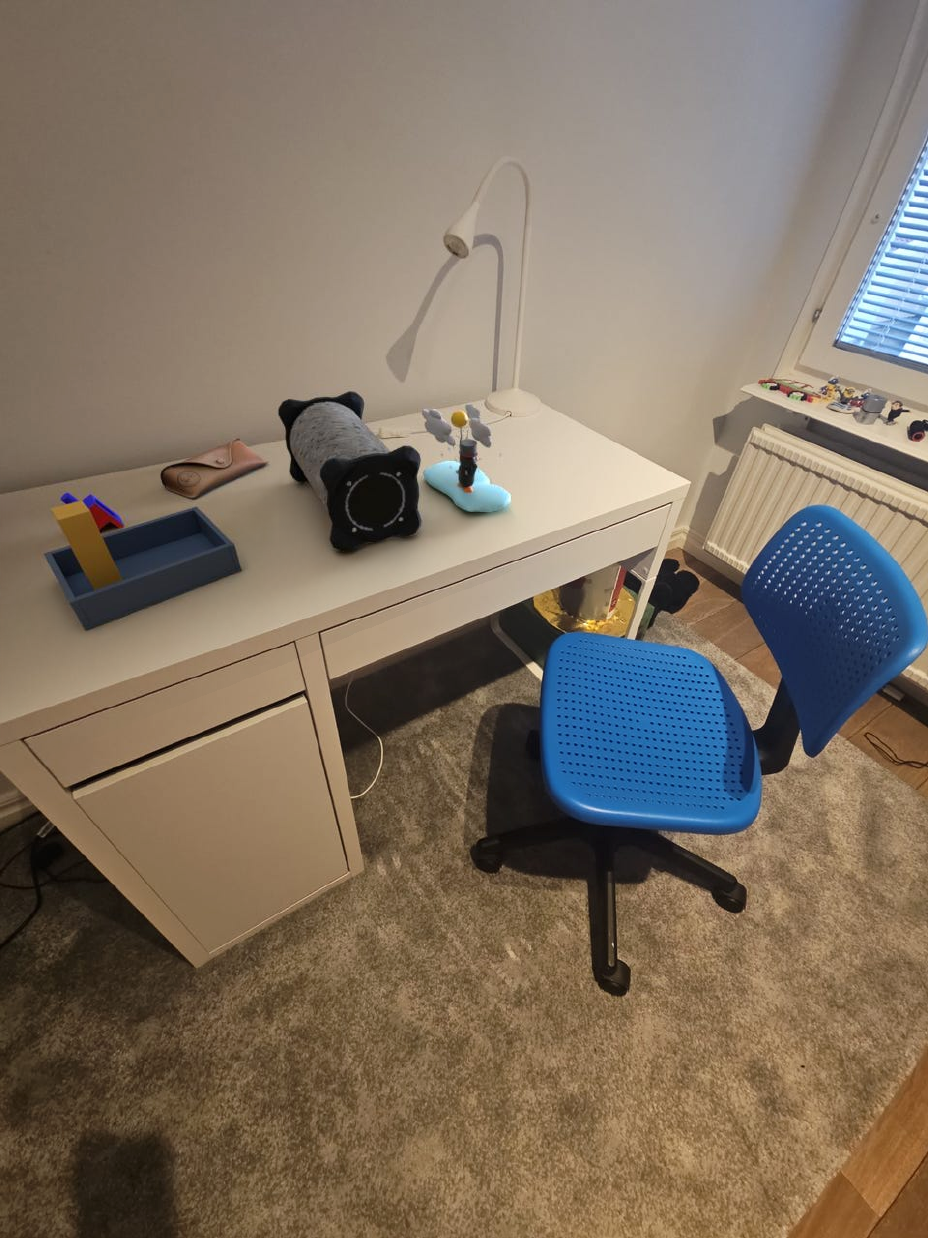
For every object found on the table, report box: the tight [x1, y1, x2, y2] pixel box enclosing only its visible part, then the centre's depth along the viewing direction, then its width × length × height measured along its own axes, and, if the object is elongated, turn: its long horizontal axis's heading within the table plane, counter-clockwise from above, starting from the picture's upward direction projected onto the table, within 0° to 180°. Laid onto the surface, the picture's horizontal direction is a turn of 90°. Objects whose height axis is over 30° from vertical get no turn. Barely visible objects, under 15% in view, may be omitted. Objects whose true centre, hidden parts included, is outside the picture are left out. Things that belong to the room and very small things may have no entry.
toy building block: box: [59, 492, 124, 531], centre depth 84 cm, size 4×4×8 cm
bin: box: [43, 506, 242, 631], centre depth 76 cm, size 21×14×5 cm, turn 132°
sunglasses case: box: [159, 437, 269, 499], centre depth 100 cm, size 18×7×7 cm
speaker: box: [277, 390, 423, 553], centre depth 89 cm, size 15×28×15 cm, turn 27°
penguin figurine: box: [421, 403, 512, 513], centre depth 94 cm, size 20×11×15 cm, turn 30°
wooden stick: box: [50, 499, 123, 590], centre depth 70 cm, size 4×4×12 cm
